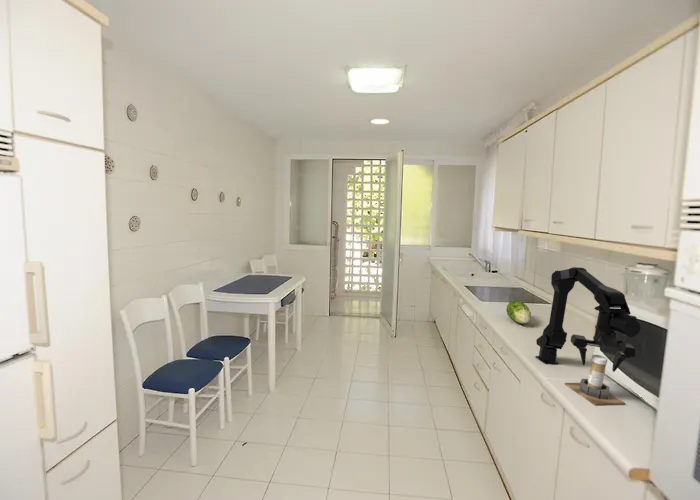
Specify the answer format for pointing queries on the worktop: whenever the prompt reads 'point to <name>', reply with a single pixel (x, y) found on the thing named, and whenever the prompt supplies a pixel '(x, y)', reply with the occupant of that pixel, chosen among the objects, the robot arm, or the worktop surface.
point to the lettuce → (518, 311)
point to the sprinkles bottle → (597, 371)
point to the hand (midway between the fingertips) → (598, 368)
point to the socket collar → (594, 390)
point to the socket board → (610, 401)
